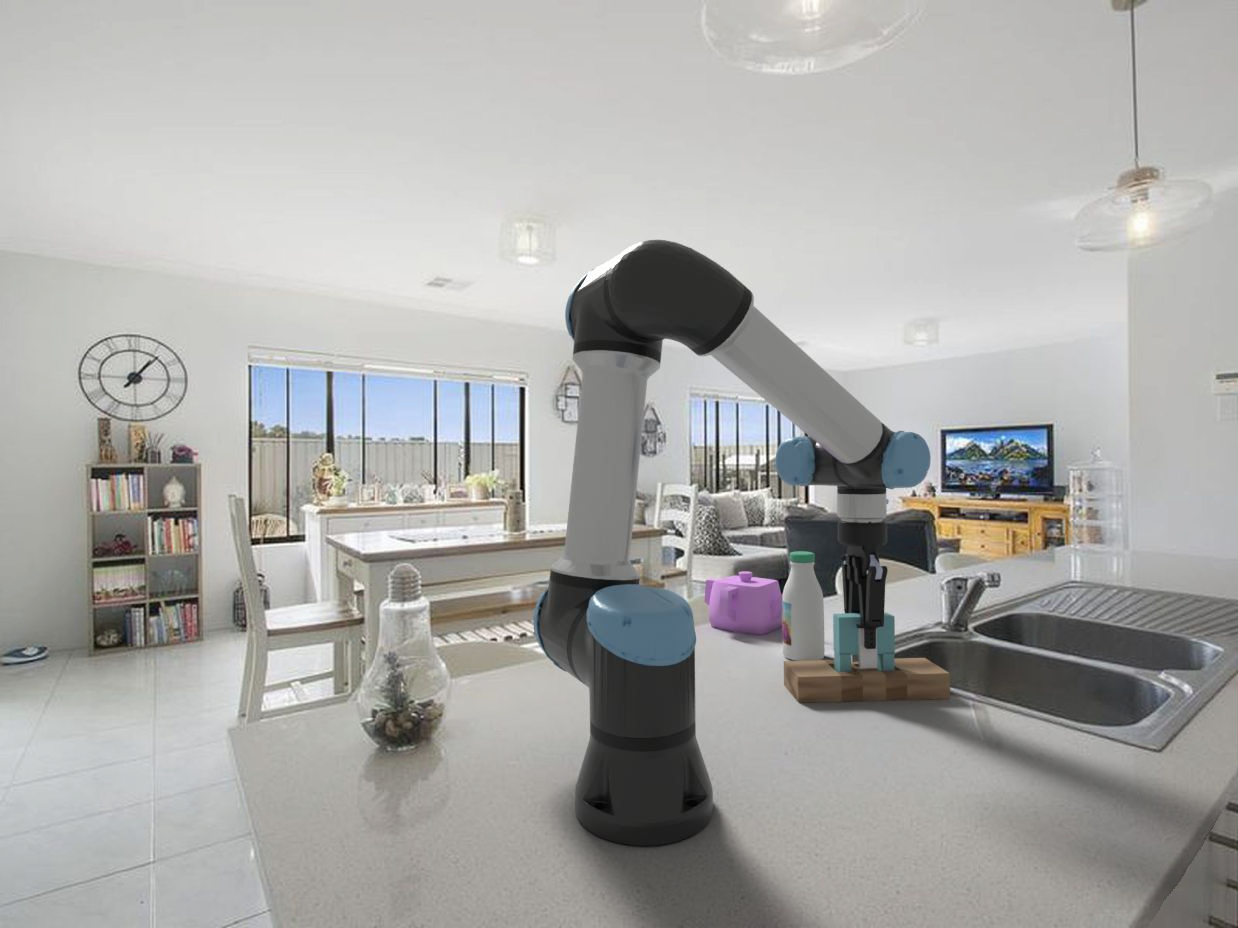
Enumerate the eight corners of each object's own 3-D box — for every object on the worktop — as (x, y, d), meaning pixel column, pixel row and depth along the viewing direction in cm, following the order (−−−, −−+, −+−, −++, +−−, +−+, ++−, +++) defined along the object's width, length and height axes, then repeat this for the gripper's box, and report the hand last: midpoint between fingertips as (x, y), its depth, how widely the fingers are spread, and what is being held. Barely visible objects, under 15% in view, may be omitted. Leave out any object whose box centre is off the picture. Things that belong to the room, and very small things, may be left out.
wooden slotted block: (950, 698, 102) (949, 673, 102) (798, 702, 101) (798, 676, 101) (924, 681, 110) (924, 657, 110) (784, 684, 109) (783, 660, 109)
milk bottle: (829, 654, 126) (828, 551, 126) (818, 665, 119) (816, 556, 119) (790, 648, 130) (788, 548, 130) (777, 659, 123) (775, 553, 123)
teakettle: (701, 618, 156) (700, 567, 156) (770, 615, 158) (769, 564, 158) (719, 637, 139) (719, 580, 139) (796, 634, 141) (795, 577, 141)
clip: (895, 684, 105) (894, 616, 104) (839, 685, 104) (838, 617, 104) (888, 679, 107) (887, 612, 107) (833, 680, 107) (833, 613, 107)
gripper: (907, 524, 98) (909, 680, 98) (865, 515, 113) (866, 649, 114) (858, 524, 98) (859, 681, 98) (822, 515, 113) (824, 650, 113)
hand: (863, 663), depth 106 cm, fingers closed on clip, 3 cm apart
